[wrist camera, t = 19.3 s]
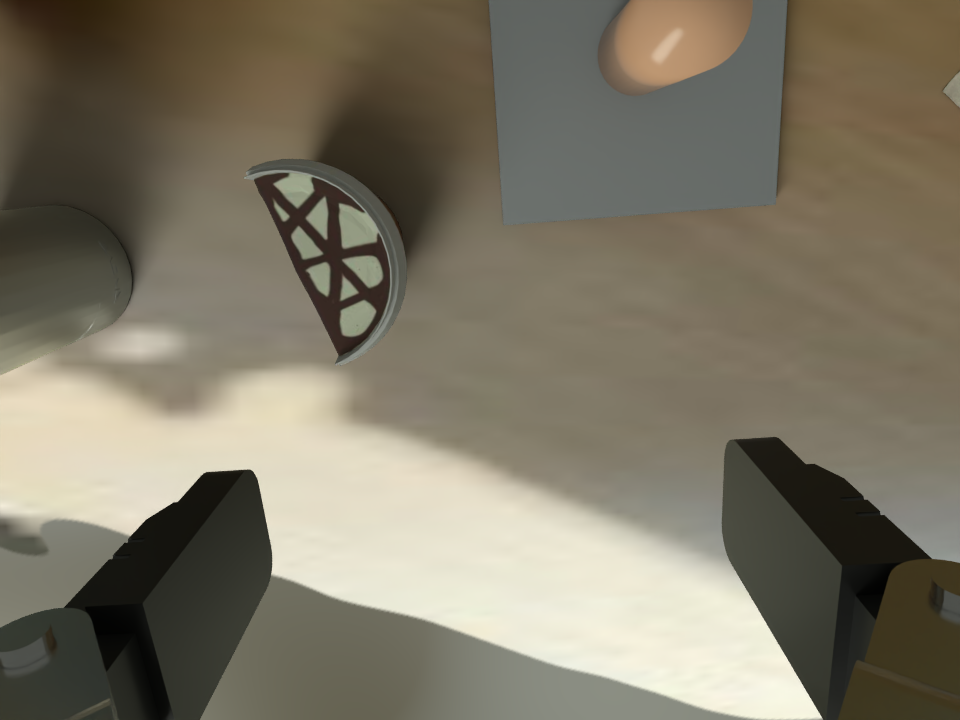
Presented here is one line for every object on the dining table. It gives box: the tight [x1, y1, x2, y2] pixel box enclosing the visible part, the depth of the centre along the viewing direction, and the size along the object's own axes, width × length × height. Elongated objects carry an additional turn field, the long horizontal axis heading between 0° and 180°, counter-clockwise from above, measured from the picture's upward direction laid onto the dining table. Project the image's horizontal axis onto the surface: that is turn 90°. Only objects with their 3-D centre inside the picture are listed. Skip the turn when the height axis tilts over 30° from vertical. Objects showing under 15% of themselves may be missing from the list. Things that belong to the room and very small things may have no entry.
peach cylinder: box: [598, 0, 753, 96], centre depth 35 cm, size 5×5×12 cm
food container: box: [244, 159, 407, 366], centre depth 41 cm, size 12×6×10 cm, turn 22°
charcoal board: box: [489, 0, 787, 225], centre depth 41 cm, size 18×20×1 cm
